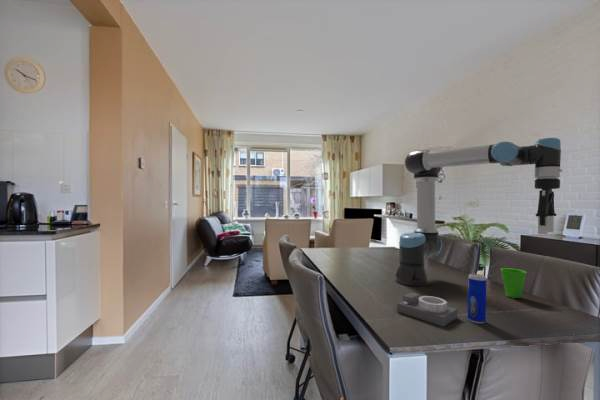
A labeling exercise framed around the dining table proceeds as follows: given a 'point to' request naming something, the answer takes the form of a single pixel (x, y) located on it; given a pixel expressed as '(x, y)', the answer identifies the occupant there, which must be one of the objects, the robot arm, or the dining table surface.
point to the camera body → (427, 309)
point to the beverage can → (477, 298)
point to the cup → (513, 281)
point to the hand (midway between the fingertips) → (545, 233)
